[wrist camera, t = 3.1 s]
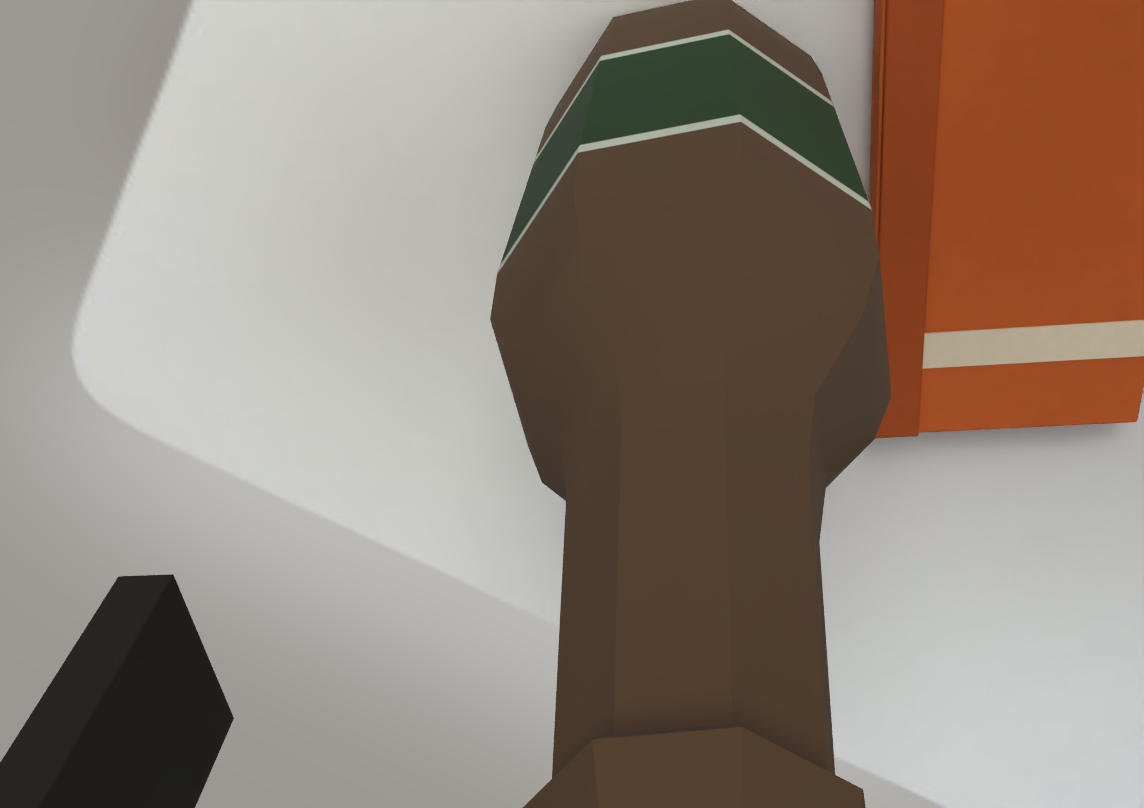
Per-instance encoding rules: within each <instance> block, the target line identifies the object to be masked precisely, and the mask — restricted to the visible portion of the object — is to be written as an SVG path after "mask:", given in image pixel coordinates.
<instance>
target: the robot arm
mask: <svg viewBox="0 0 1144 808" xmlns="http://www.w3.org/2000/svg"><path fill="white" fill-rule="evenodd" d="M233 719H234V718H233V715H232V713H231V710H230V708H229V706H228V703H227V701H226V699H225V696H224V694H223V692H222V689H221V687H220V684H219V682H218V680H217V677H216V675H215V673H214V670H213V668H212V665H211V663H210V661H209V658H208V656H207V653H206V651H205V649H204V646H203V644H202V642H201V639H200V637H199V635H198V632H197V630H196V627H195V625H194V623H193V620H192V618H191V616H190V614H189V611H188V608H187V606H186V604H185V601H184V599H183V597H182V594H181V592H180V590H179V587H178V585H177V582H176V580H175V578H174V575H149V576H123V577H118V578H117V580H116V582H115V583H114V585H113V586H112V588H111V589H110V591H109V593H108V594H107V596H106V597H105V599H104V600H103V602H102V603H101V605H100V607H99V608H98V610H97V611H96V613H95V614H94V616H93V618H92V619H91V621H90V622H89V624H88V625H87V627H86V629H85V630H84V632H83V633H82V635H81V636H80V638H79V640H78V641H77V643H76V644H75V646H74V647H73V649H72V651H71V652H70V654H69V655H68V657H67V659H66V660H65V662H64V663H63V665H62V667H61V668H60V670H59V671H58V673H57V674H56V676H55V677H54V679H53V681H52V682H51V684H50V685H49V687H48V688H47V690H46V692H45V693H44V695H43V696H42V698H41V699H40V701H39V703H38V704H37V706H36V707H35V709H34V711H33V712H32V714H31V715H30V717H29V719H28V720H27V722H26V723H25V725H24V726H23V728H22V729H21V731H20V732H19V734H18V736H17V737H16V739H15V740H14V742H13V743H12V745H11V747H10V748H9V750H8V752H7V753H6V755H5V756H4V758H3V759H2V761H1V762H0V808H195V806H196V804H197V801H198V799H199V797H200V795H201V792H202V790H203V788H204V785H205V783H206V781H207V778H208V776H209V774H210V772H211V769H212V767H213V765H214V762H215V760H216V758H217V756H218V753H219V751H220V749H221V746H222V744H223V742H224V739H225V737H226V735H227V733H228V730H229V728H230V726H231V723H232V721H233Z"/></svg>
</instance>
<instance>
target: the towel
mask: <svg viewBox="0 0 1144 808" xmlns="http://www.w3.org/2000/svg"><path fill="white" fill-rule="evenodd" d="M869 204H870V206H871V209H872V214H873V220H874V226H875V232H876V237H877V243H878V249H879V255H880V266H881V278H882V290H883V301H884V313H885V325H886V337H887V349H888V360H889V372H890V384H891V396H892V397H891V399H890V402H889V404H888V407H887V409H886V412H885V414H884V417H883V419H882V422H881V424H880V427H879V429H878V432H877V434H876V437H875V438H889V437H910V436H918V433H919V432H940V431H960V430H981V429H1001V428H1022V427H1042V426H1063V425H1083V424H1104V423H1124V422H1136V421H1137V418H1138V413H1139V408H1140V402H1141V397H1142V392H1143V386H1144V0H875V13H874V50H873V86H872V123H871V160H870V197H869Z"/></svg>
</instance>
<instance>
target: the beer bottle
mask: <svg viewBox="0 0 1144 808" xmlns="http://www.w3.org/2000/svg"><path fill="white" fill-rule="evenodd" d="M490 320H491V323H492V327H493V330H494V333H495V337H496V340H497V343H498V347H499V350H500V353H501V357H502V360H503V363H504V367H505V370H506V373H507V377H508V380H509V383H510V387H511V390H512V393H513V397H514V400H515V403H516V407H517V410H518V413H519V417H520V420H521V423H522V427H523V430H524V433H525V437H526V440H527V443H528V447H529V449H530V452H531V455H532V457H533V460H534V462H535V465H536V468H537V470H538V473H539V475H540V478H541V481H542V483H544V484H545V485H546V486H547V487H549V488H550V489H551V490H553V491H554V492H555V493H556V494H558V495H559V496H560V497H562V498H563V499H564V500H565V501H566V514H565V533H564V553H563V573H562V593H561V612H560V633H559V652H558V653H559V654H558V672H557V692H556V712H555V732H554V752H553V771H552V780H551V781H550V782H549V783H547V785H545V786H544V787H543V789H541V790H540V791H539V792H538V793H537V794H536V795H535V796H534V797H533V798H532V799H531V800H530V801H529V802H528V803H527V804H526V805H525V806H524V807H523V808H865V801H864V793H863V789H861V788H859V787H857V786H855V785H853V784H851V783H850V782H847V781H846V780H844V779H842V778H840V777H838V776H836V775H835V768H834V752H833V737H832V723H831V708H830V693H829V678H828V664H827V649H826V634H825V619H824V605H823V590H822V575H821V561H820V546H819V540H820V531H821V523H822V514H823V506H824V497H825V488H826V487H827V486H828V485H829V484H830V483H831V482H832V481H833V480H834V479H835V478H836V477H837V476H838V475H839V474H840V473H841V472H842V471H843V470H844V469H845V468H846V467H847V466H848V465H849V464H850V463H851V462H852V461H853V460H854V459H855V458H856V457H857V456H858V455H859V454H860V453H861V452H862V451H863V450H864V449H865V448H866V447H867V446H868V445H869V444H870V443H871V442H872V441H873V440H874V439H875V437H876V434H877V432H878V429H879V427H880V424H881V422H882V419H883V417H884V414H885V412H886V409H887V407H888V404H889V402H890V399H891V397H892V396H891V384H890V372H889V360H888V349H887V337H886V325H885V313H884V301H883V290H882V278H881V266H880V255H879V249H878V243H877V237H876V232H875V226H874V220H873V214H872V209H871V206H870V204H869V201H868V198H867V196H866V193H865V190H864V187H863V185H862V182H861V179H860V177H859V174H858V171H857V168H856V166H855V163H854V160H853V158H852V155H851V152H850V149H849V147H848V144H847V141H846V139H845V136H844V133H843V130H842V128H841V125H840V122H839V120H838V117H837V114H836V111H835V109H834V106H833V103H832V101H831V98H830V95H829V92H828V90H827V87H826V84H825V82H824V79H823V76H822V73H821V72H820V70H819V69H818V67H817V65H816V64H815V62H814V61H813V59H812V57H811V56H810V55H808V54H807V53H805V52H804V51H802V50H801V49H800V48H798V47H797V46H795V45H794V44H793V43H791V42H790V41H788V40H787V39H785V38H784V37H783V36H781V35H780V34H778V33H777V32H776V31H774V30H773V29H771V28H770V27H768V26H767V25H766V24H764V23H763V22H761V21H760V20H759V19H757V18H756V17H754V16H753V15H751V14H750V13H749V12H747V11H746V10H744V9H743V8H742V7H740V6H739V5H737V4H736V3H734V2H733V1H732V0H692V1H688V2H683V3H678V4H674V5H669V6H664V7H660V8H655V9H650V10H646V11H641V12H636V13H632V14H627V15H622V16H618V17H613V19H612V20H611V22H610V23H609V25H608V27H607V28H606V30H605V31H604V33H603V35H602V36H601V38H600V39H599V41H598V42H597V44H596V46H595V47H594V49H593V50H592V52H591V53H590V55H589V57H588V58H587V60H586V61H585V63H584V64H583V66H582V68H581V69H580V71H579V72H578V74H577V75H576V77H575V79H574V80H573V82H572V83H571V85H570V86H569V88H568V90H567V91H566V93H565V94H564V96H563V97H562V99H561V101H560V102H559V104H558V105H557V107H556V109H555V111H554V113H553V114H552V116H551V118H550V120H549V122H548V124H547V126H546V128H545V131H544V134H543V137H542V140H541V143H540V146H539V149H538V152H537V155H536V158H535V161H534V164H533V167H532V170H531V173H530V176H529V179H528V182H527V186H526V189H525V192H524V195H523V198H522V201H521V204H520V207H519V210H518V213H517V216H516V219H515V222H514V225H513V228H512V231H511V234H510V237H509V240H508V243H507V246H506V249H505V252H504V255H503V258H502V261H501V264H500V267H499V270H498V273H497V279H496V285H495V292H494V299H493V305H492V312H491V318H490Z"/></svg>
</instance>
